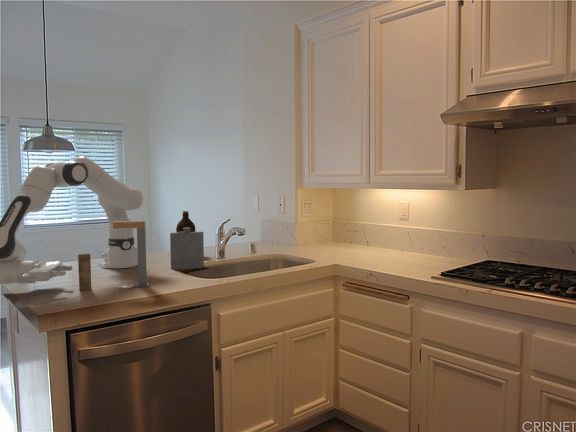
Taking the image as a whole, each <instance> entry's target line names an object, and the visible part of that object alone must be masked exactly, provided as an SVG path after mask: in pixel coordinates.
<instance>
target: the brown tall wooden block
mask: <svg viewBox="0 0 576 432" xmlns="http://www.w3.org/2000/svg"><path fill="white" fill-rule="evenodd" d="M77 260H78V261H77V263H78V264H77V265H78V267H77V268H78V288H79V291H80V290H81V291H80V292H84V291H85V292H86V291H90V290H92V271H91V270H92V267H91V264H92V263H91V253H79V254H77Z"/></svg>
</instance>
